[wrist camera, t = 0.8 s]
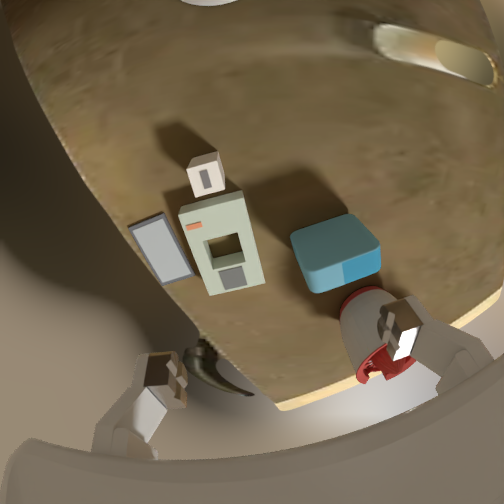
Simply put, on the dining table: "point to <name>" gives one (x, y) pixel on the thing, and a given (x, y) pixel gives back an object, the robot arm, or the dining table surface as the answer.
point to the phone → (162, 249)
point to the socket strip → (216, 225)
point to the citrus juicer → (368, 334)
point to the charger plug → (206, 174)
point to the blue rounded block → (335, 252)
